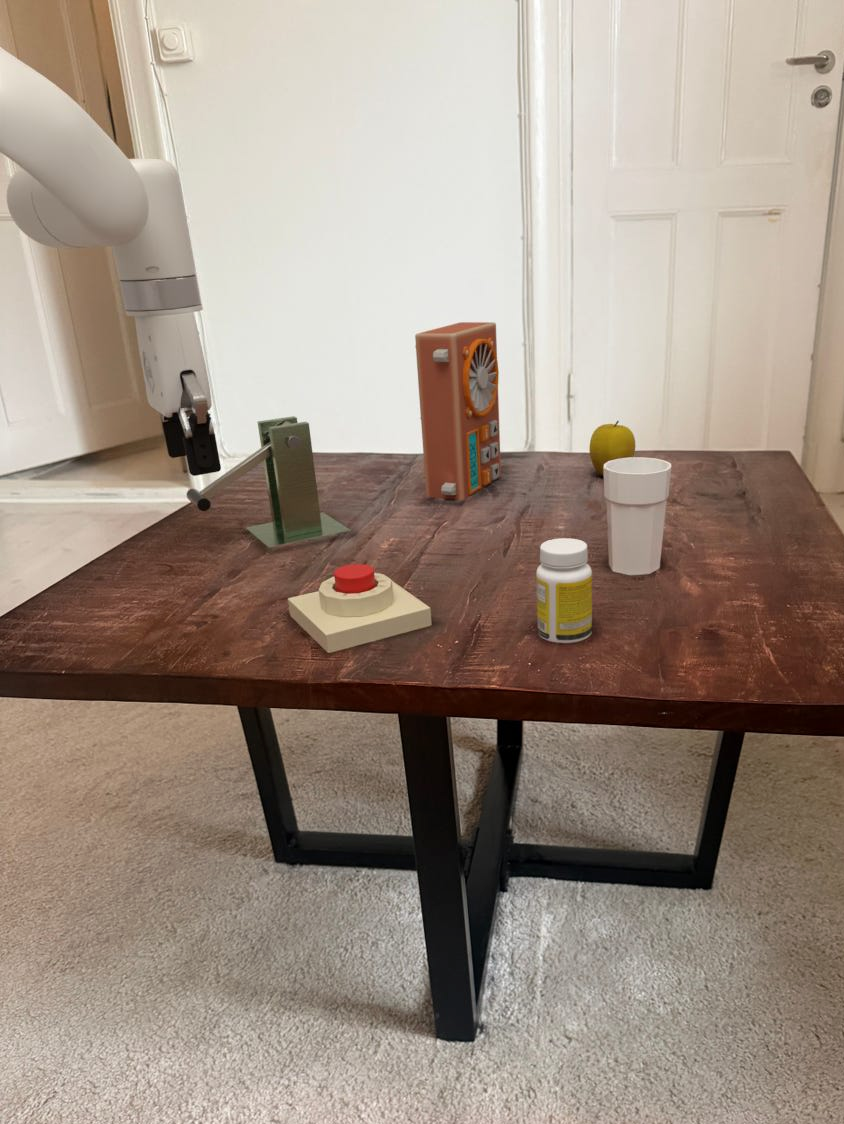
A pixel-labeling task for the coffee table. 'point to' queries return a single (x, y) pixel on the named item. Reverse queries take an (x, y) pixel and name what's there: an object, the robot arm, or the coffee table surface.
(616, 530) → the cup
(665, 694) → the coffee table surface
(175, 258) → the robot arm
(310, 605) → the button block
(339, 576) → the button
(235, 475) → the lever
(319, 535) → the bracket
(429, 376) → the control panel
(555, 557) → the supplement bottle
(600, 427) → the apple
